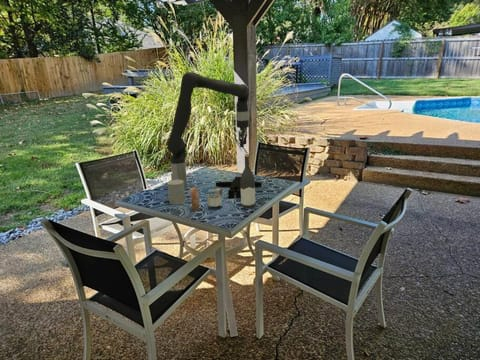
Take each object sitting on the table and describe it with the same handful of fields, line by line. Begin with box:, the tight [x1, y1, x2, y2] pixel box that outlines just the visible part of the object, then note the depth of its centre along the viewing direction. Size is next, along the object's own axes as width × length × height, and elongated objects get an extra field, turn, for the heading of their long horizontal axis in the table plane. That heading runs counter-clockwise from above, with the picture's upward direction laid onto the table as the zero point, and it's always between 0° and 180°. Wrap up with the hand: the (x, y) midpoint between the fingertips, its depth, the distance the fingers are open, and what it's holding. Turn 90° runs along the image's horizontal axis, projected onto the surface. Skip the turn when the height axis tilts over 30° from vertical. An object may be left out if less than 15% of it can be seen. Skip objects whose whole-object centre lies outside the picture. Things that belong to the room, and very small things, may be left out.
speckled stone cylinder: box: [167, 179, 187, 206], centre depth 187 cm, size 10×10×12 cm
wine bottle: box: [240, 153, 256, 209], centre depth 175 cm, size 8×8×30 cm
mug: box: [206, 187, 223, 208], centre depth 180 cm, size 8×13×8 cm, turn 167°
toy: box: [215, 176, 263, 199], centre depth 204 cm, size 30×5×30 cm
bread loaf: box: [189, 187, 200, 211], centre depth 175 cm, size 4×4×12 cm
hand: (243, 145), depth 194 cm, fingers open, 8 cm apart
